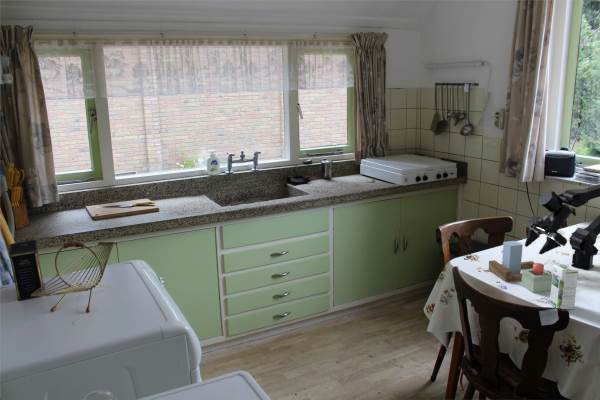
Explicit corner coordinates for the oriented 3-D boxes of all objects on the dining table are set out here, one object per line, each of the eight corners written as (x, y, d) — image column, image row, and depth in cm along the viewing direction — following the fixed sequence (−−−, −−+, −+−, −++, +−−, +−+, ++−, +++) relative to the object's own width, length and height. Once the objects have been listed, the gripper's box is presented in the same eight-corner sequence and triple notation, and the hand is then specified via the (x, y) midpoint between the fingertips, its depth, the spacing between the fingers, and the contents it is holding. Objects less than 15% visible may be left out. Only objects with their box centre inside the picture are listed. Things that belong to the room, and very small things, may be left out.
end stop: (494, 269, 209) (494, 260, 208) (511, 281, 198) (511, 271, 197) (488, 270, 209) (489, 260, 208) (505, 281, 197) (505, 272, 196)
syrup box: (548, 303, 178) (552, 264, 175) (565, 302, 179) (569, 263, 175) (558, 311, 173) (562, 270, 169) (574, 309, 173) (579, 269, 170)
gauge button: (539, 270, 191) (539, 262, 191) (545, 273, 188) (546, 266, 187) (530, 271, 191) (531, 263, 190) (536, 274, 187) (537, 267, 187)
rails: (531, 265, 212) (532, 261, 211) (550, 276, 200) (551, 271, 200) (494, 269, 209) (494, 265, 209) (511, 281, 198) (511, 276, 197)
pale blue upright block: (512, 271, 207) (515, 240, 204) (520, 276, 202) (522, 244, 199) (501, 272, 206) (503, 241, 203) (508, 277, 201) (510, 245, 198)
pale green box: (540, 283, 195) (541, 268, 193) (552, 290, 188) (553, 275, 187) (521, 285, 194) (522, 270, 192) (532, 292, 187) (533, 277, 185)
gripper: (529, 201, 208) (505, 232, 210) (559, 213, 190) (533, 247, 192) (547, 216, 211) (523, 246, 213) (578, 229, 194) (552, 262, 195)
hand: (532, 250), depth 203 cm, fingers open, 9 cm apart
